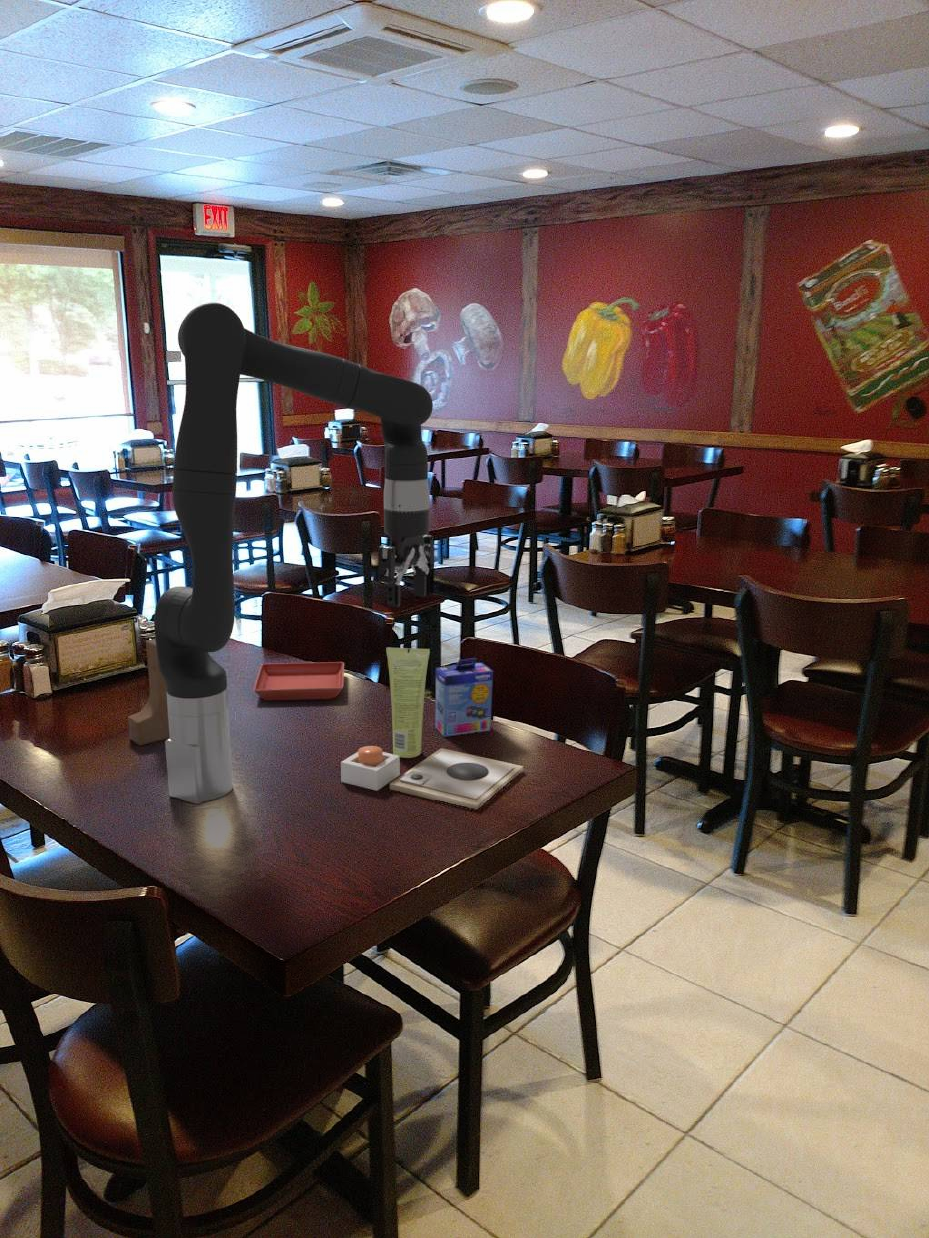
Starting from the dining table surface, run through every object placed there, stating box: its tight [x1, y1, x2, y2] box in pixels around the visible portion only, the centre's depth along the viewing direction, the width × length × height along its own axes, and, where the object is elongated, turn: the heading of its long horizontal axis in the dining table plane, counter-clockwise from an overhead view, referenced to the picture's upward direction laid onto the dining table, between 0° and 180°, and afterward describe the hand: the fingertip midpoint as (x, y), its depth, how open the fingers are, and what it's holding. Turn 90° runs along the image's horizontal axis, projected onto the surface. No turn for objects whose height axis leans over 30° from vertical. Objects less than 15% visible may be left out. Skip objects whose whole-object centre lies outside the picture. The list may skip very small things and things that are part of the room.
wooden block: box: [127, 638, 170, 746], centre depth 176 cm, size 9×4×18 cm, turn 132°
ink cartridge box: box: [434, 657, 494, 738], centre depth 182 cm, size 10×6×14 cm, turn 113°
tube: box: [385, 646, 431, 759], centre depth 170 cm, size 6×5×20 cm
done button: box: [357, 745, 384, 767], centre depth 161 cm, size 4×4×4 cm
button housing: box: [340, 751, 401, 791], centre depth 161 cm, size 7×7×4 cm
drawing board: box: [389, 747, 524, 809], centre depth 161 cm, size 17×16×2 cm
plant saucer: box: [253, 661, 345, 701], centre depth 205 cm, size 18×18×3 cm
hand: (407, 600), depth 165 cm, fingers open, 8 cm apart
